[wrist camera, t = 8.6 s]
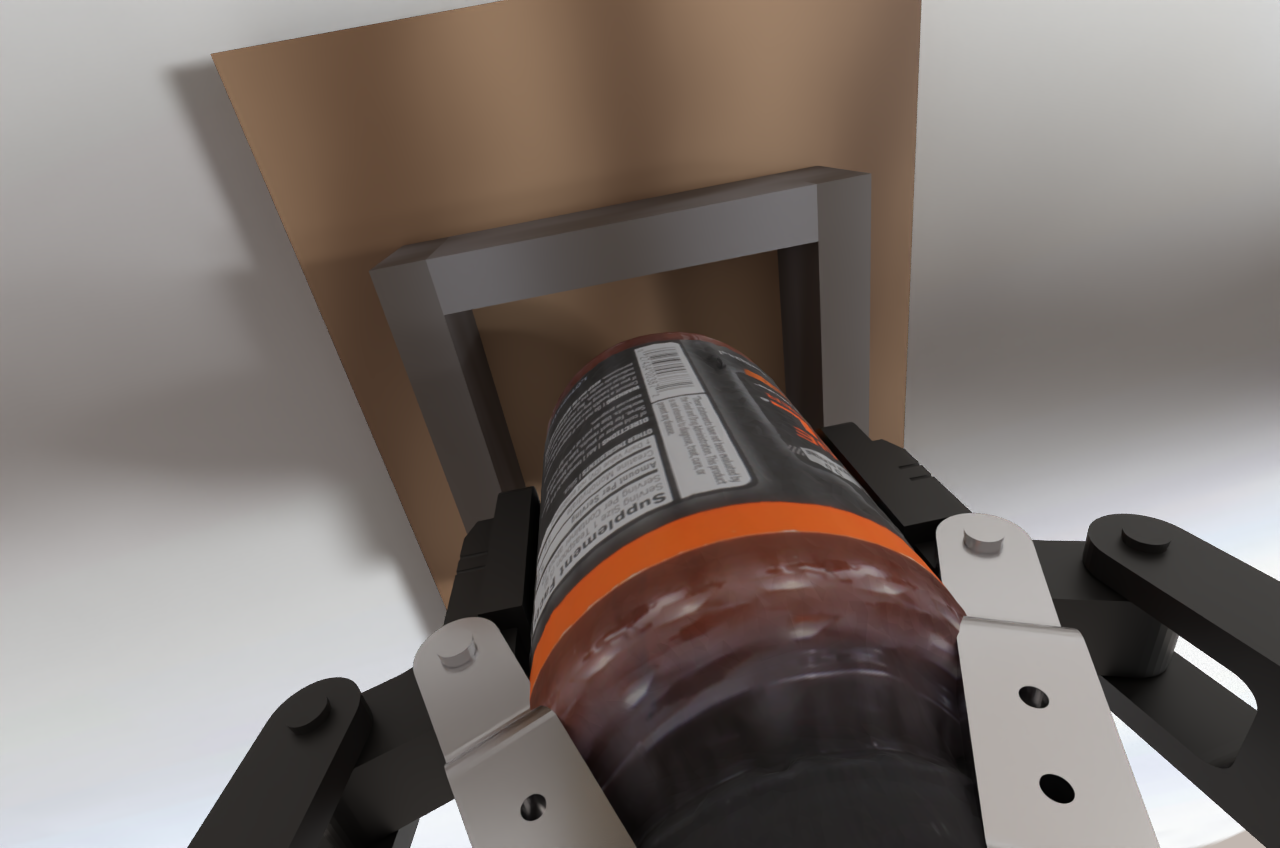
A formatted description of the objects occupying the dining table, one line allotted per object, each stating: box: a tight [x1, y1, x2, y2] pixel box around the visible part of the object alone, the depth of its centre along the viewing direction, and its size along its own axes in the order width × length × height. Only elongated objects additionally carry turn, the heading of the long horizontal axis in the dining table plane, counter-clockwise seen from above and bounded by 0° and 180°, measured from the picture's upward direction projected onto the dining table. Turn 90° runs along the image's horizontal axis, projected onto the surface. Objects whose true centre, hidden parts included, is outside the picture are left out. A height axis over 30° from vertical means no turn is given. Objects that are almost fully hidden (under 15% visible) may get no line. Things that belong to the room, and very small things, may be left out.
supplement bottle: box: [529, 332, 986, 848], centre depth 10 cm, size 6×6×11 cm
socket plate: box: [211, 0, 921, 609], centre depth 17 cm, size 16×20×4 cm
